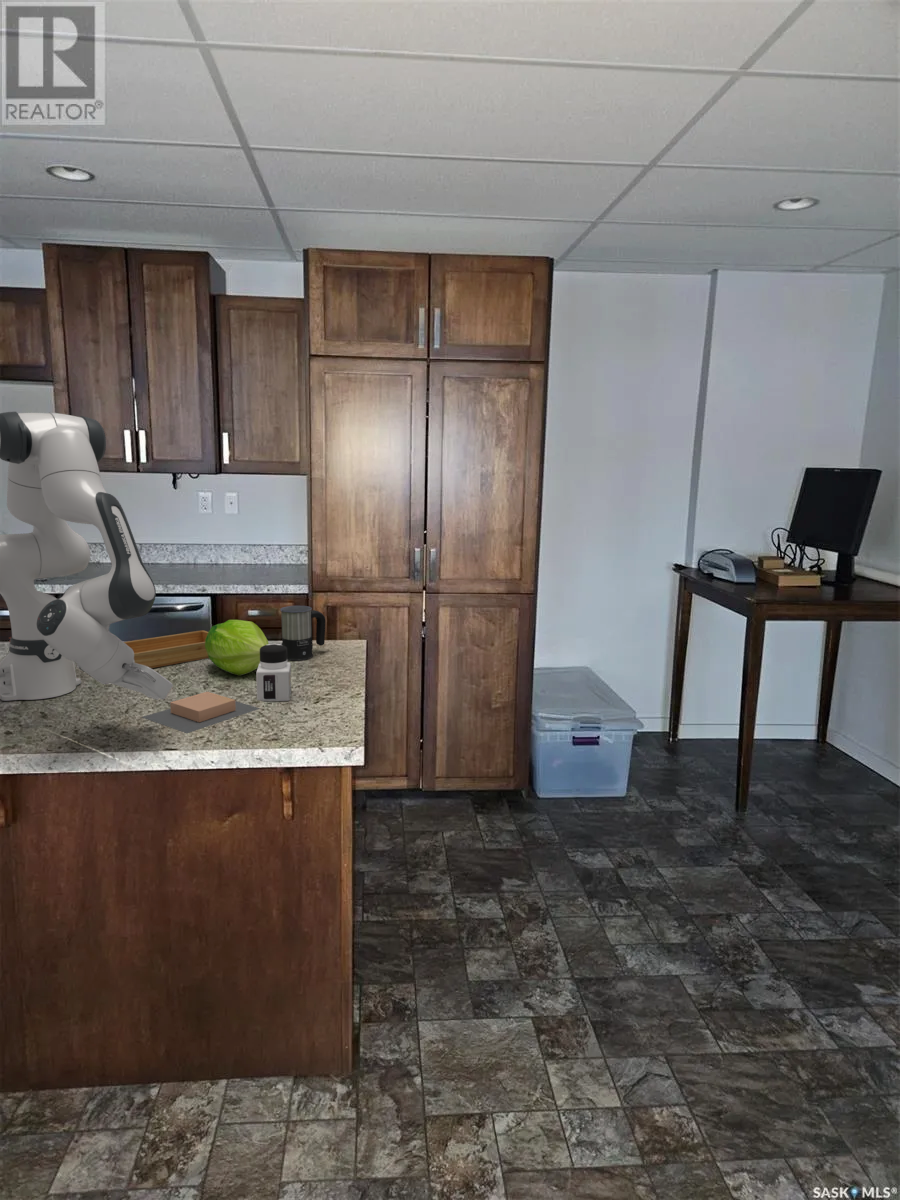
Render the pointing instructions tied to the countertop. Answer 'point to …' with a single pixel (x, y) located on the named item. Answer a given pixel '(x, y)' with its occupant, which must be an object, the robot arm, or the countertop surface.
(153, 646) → the tray
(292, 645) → the milk frother
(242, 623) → the lettuce
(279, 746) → the countertop surface
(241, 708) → the mat
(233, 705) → the block
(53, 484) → the robot arm
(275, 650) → the container
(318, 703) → the countertop surface
